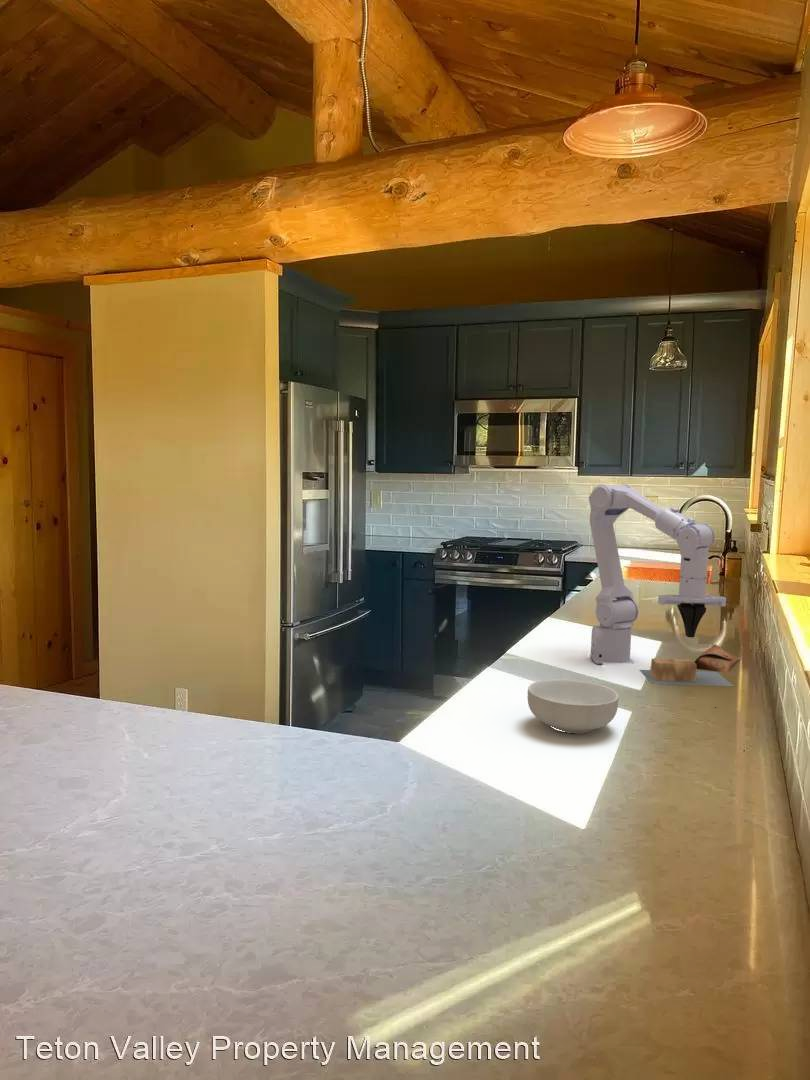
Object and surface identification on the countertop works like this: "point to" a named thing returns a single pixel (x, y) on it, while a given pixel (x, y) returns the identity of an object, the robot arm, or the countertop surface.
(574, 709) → the cereal bowl
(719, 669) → the sunglasses case
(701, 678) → the slate mat
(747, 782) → the countertop surface
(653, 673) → the oak block
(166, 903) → the countertop surface
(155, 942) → the countertop surface
